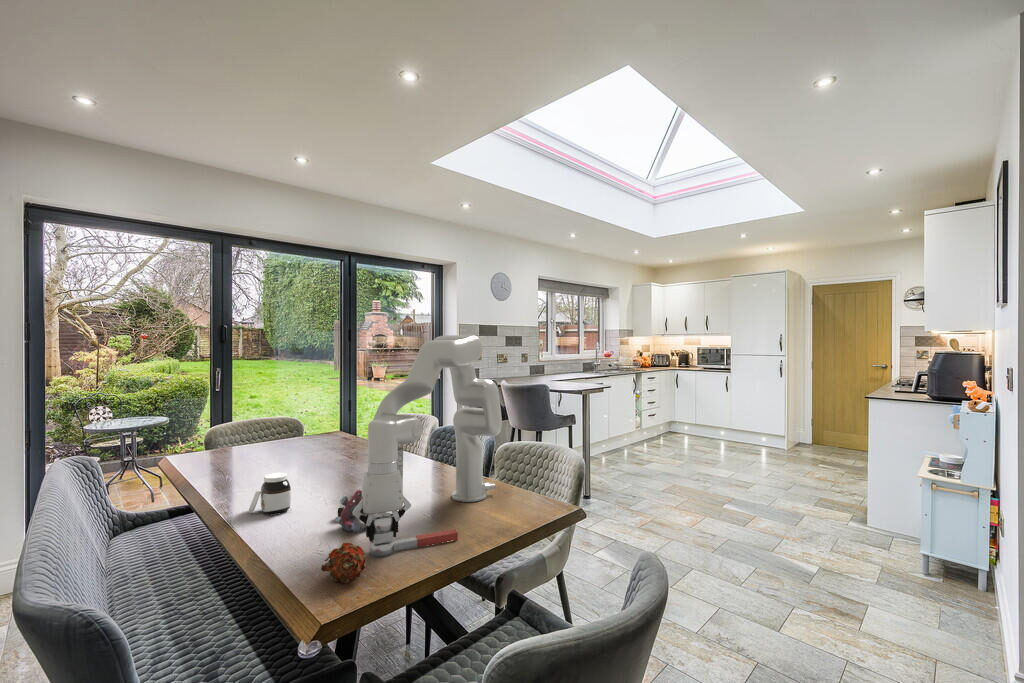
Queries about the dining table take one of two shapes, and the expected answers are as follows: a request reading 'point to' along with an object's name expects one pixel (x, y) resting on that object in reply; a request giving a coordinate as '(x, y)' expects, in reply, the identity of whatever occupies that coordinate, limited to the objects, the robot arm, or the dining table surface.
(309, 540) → the dining table surface
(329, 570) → the dragon fruit
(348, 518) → the brake caliper
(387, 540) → the socket
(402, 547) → the ratchet
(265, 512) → the spread jar
